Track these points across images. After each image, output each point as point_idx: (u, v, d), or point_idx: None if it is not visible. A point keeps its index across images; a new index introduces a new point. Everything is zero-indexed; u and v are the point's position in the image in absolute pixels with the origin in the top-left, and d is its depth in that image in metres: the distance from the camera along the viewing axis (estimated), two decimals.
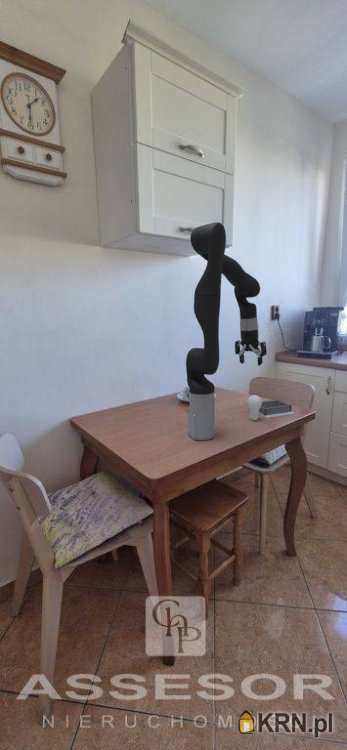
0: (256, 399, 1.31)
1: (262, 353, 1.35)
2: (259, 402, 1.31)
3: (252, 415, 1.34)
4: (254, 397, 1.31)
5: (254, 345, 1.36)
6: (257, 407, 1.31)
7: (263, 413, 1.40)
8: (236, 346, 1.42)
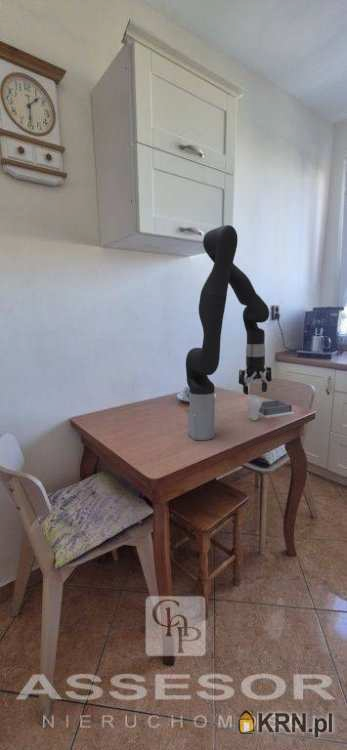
0: (256, 399, 1.31)
1: (270, 378, 1.32)
2: (259, 402, 1.31)
3: (252, 415, 1.34)
4: (254, 397, 1.31)
5: (262, 371, 1.31)
6: (257, 407, 1.31)
7: (263, 413, 1.40)
8: (243, 376, 1.28)
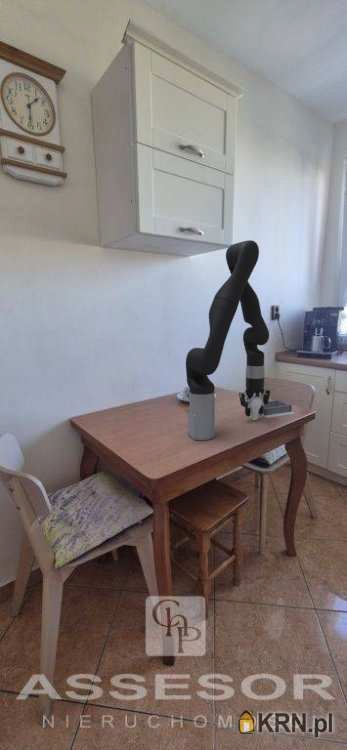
0: (256, 399, 1.31)
1: (266, 401, 1.34)
2: (259, 402, 1.31)
3: (252, 415, 1.34)
4: (254, 397, 1.31)
5: (261, 393, 1.32)
6: (257, 407, 1.31)
7: (263, 413, 1.40)
8: (244, 398, 1.30)
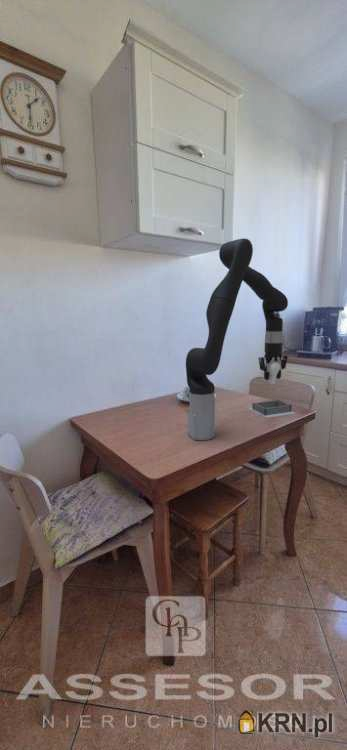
0: (275, 363, 1.39)
1: (284, 366, 1.42)
2: (278, 366, 1.39)
3: (271, 379, 1.42)
4: (273, 361, 1.40)
5: None
6: (276, 371, 1.40)
7: (263, 413, 1.40)
8: (263, 362, 1.39)
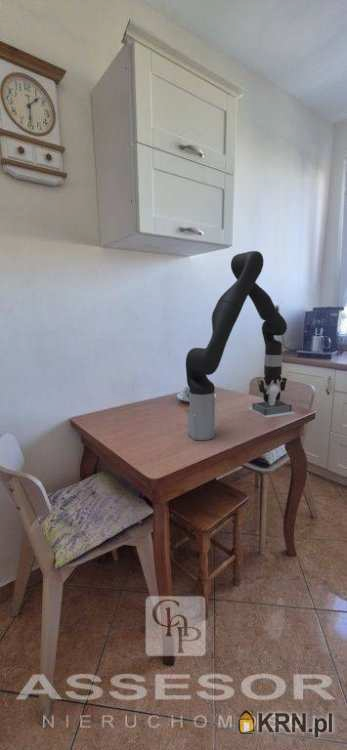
0: (274, 386, 1.41)
1: (283, 388, 1.45)
2: (277, 389, 1.41)
3: (270, 401, 1.44)
4: (272, 384, 1.42)
5: (279, 380, 1.43)
6: (275, 393, 1.42)
7: (263, 413, 1.40)
8: (263, 385, 1.41)
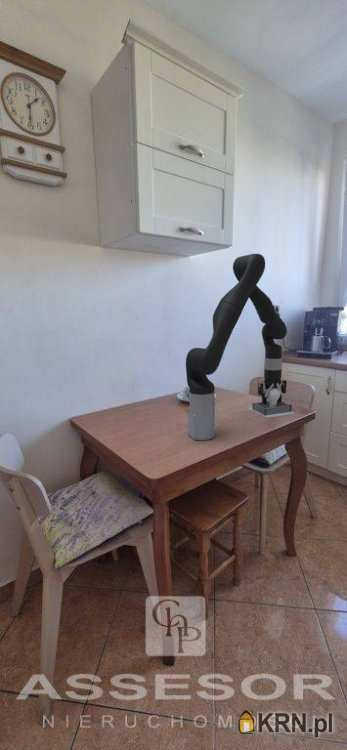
0: (275, 390, 1.42)
1: (284, 390, 1.45)
2: (278, 394, 1.42)
3: (271, 405, 1.45)
4: (273, 389, 1.42)
5: (279, 383, 1.43)
6: (276, 398, 1.42)
7: (263, 413, 1.40)
8: (262, 388, 1.41)
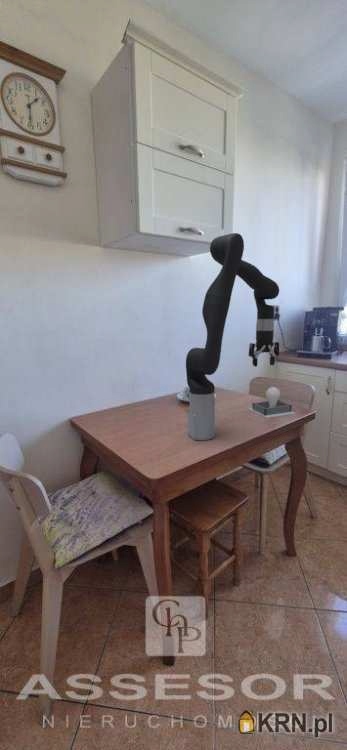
0: (275, 390, 1.42)
1: (277, 352, 1.43)
2: (278, 394, 1.42)
3: (271, 405, 1.45)
4: (273, 389, 1.42)
5: (271, 345, 1.41)
6: (276, 398, 1.42)
7: (263, 413, 1.40)
8: (253, 348, 1.39)
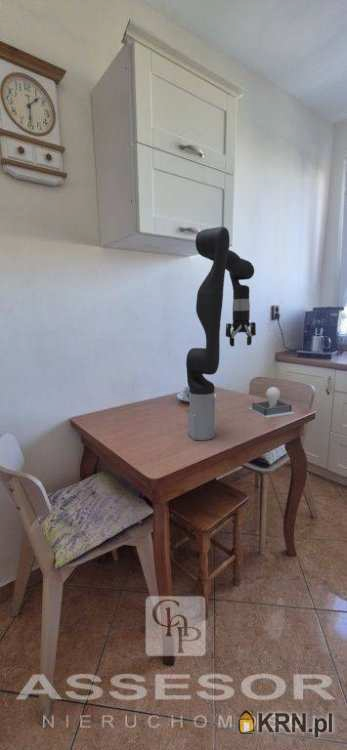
0: (275, 390, 1.42)
1: (254, 332, 1.45)
2: (278, 394, 1.42)
3: (271, 405, 1.45)
4: (273, 389, 1.42)
5: (247, 325, 1.44)
6: (276, 398, 1.42)
7: (263, 413, 1.40)
8: (230, 328, 1.41)
